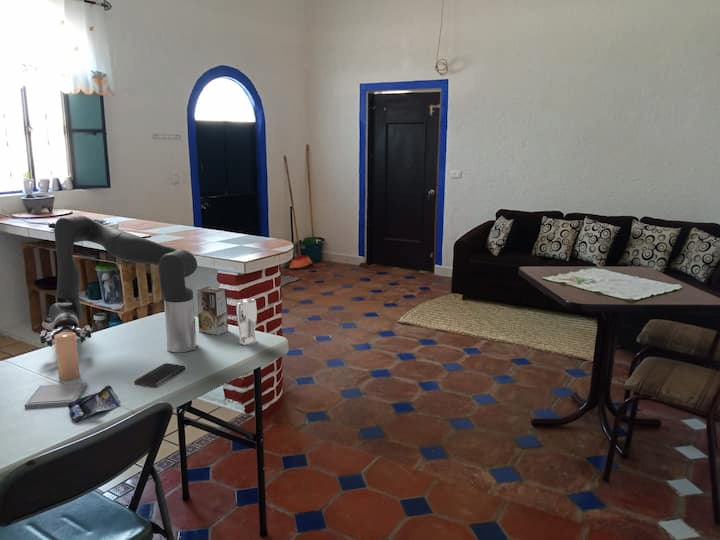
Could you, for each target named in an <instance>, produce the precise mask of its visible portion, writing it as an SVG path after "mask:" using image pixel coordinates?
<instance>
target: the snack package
mask: <svg viewBox="0 0 720 540" xmlns="http://www.w3.org/2000/svg"><path fill="white" fill-rule="evenodd" d="M121 402H122V401H121V400H120V399H119V396H118V395H117V394H116V392H115V391H114V388H113V387H112V386H111V385H105V386H104V387H103V388H102V389H101V390H99V391H98V392H95V391H93V393H92V394H88V395H87V396H84V397H80V398H79V399H78V400H76V401H73V402H71V403H70V404H69V405H67V408H68V410H69V412H70V418H71V419H72V420H73V421H74V422H76V423H78V422H81V421H82V420H83V419H86V418H89V417H90V416H93V415H94V414H96V413H100V412H105V409H106V408H117V407H118V406H120V405H121ZM99 409H100V410H99ZM110 410H111V409H108V411H110Z"/></svg>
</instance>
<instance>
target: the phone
mask: <svg viewBox="0 0 720 540" xmlns="http://www.w3.org/2000/svg"><path fill="white" fill-rule="evenodd" d="M186 368H187V367H186V366H185V365H181V364H176V363H170V362H169V363H165V362H164V363H163V364H161V365H159V366H157V367H155V368H154V369H152V370H151V371H149V372H147V373H145V374H144V375H142V376H140V377H138V378H136V379H135V380H134V382H133V383H134V385H135V386H142V387H148V388H152V389H153V388H157V387H160V386H161V385H163V384H165V383H166V382H168V381H169V380H171V379H172V378H174V377H176V376H177V375H179V374H181V373H182V372H185V370H186Z"/></svg>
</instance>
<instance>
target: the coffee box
mask: <svg viewBox="0 0 720 540" xmlns="http://www.w3.org/2000/svg"><path fill="white" fill-rule="evenodd" d="M227 295H228V293H227V288H221V287H215V286H214V287H213V286H204V287H202V288H199V289H197V290H196V302H197V303H196V304H197V316H198V317H197V318H198V332H199V331H200V332H199V333H203V332H206V333H205V334H209V333H211V334H210V335H214V334H216V335H215V336H220V335H222V334H224V333H227V332H228V331H229V319H228V318H229V316H228V298H227V297H228V296H227ZM221 333H222V334H221Z"/></svg>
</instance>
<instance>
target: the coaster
mask: <svg viewBox="0 0 720 540" xmlns="http://www.w3.org/2000/svg"><path fill="white" fill-rule="evenodd" d="M87 386H88V384H87V382H75V383H74V382H73V383H59V384H58V383H57V384H50V385H49V384H47V385H46V384H45V385H39V386H38V388H37V389H36V390H35V392H33V393H32V395H30V398H29V399H28V400H27V401H26V402H25V404H24V409H35V408H36V409H38V408H47V407H49V408H50V407H60V406H61V407H62V406H68V405H69V404H70V403H71V402H73V401H76V400H78V399H79V398H81V396H82V395H83V393H84V391H85V389H86V388H87Z"/></svg>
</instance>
